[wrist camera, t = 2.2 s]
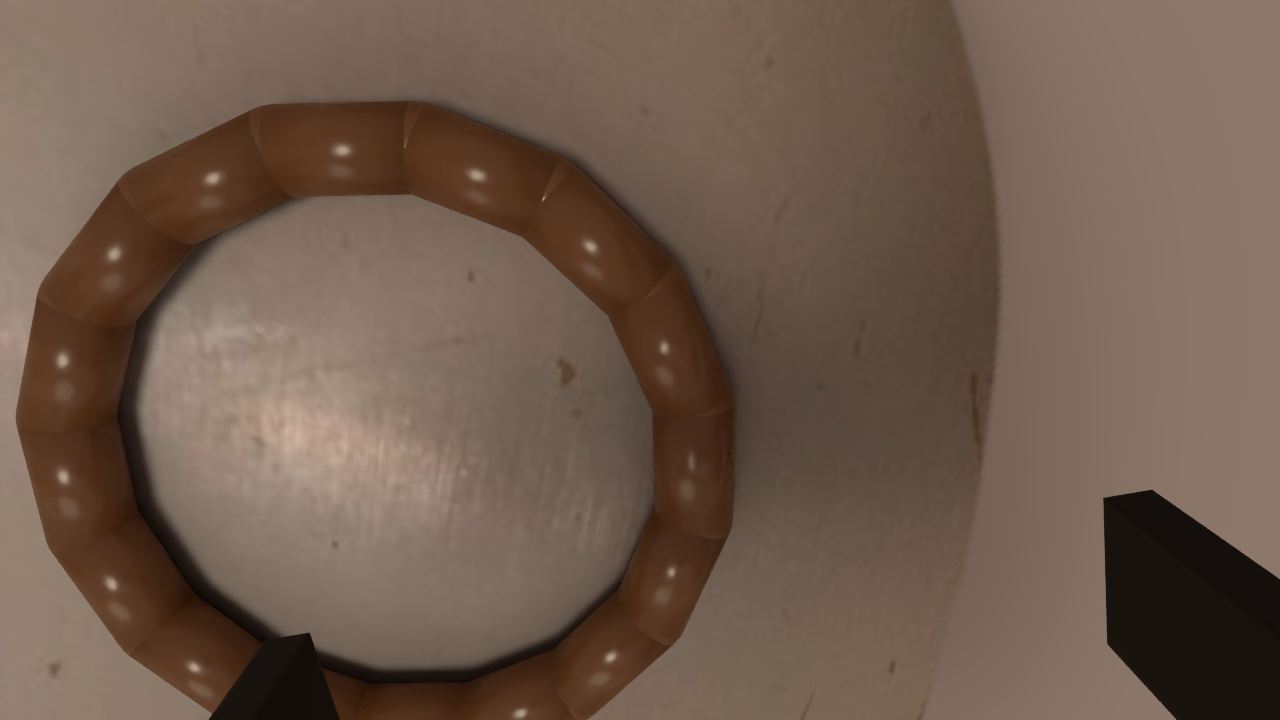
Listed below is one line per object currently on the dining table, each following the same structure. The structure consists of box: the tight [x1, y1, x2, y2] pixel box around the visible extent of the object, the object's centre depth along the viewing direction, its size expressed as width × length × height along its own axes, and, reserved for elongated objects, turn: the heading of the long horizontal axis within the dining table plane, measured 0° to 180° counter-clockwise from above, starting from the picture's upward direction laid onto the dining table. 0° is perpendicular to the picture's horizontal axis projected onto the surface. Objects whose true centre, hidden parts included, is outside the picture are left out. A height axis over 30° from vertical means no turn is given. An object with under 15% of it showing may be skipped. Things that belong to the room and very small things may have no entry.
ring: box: [16, 101, 735, 720], centre depth 24 cm, size 21×21×2 cm
